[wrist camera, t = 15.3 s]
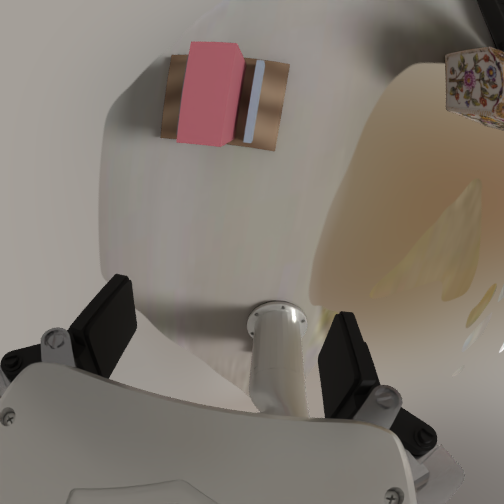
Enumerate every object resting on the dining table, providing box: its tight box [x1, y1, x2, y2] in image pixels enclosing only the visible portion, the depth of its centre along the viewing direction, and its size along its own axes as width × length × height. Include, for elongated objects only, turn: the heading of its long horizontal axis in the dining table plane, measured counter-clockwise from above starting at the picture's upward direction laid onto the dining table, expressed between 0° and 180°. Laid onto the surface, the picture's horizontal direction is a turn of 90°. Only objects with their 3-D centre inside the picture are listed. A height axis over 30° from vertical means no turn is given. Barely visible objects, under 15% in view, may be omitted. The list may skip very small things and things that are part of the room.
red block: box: [177, 42, 247, 147], centre depth 30 cm, size 12×5×12 cm, turn 171°
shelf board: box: [161, 55, 290, 151], centre depth 36 cm, size 14×18×2 cm
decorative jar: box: [445, 46, 504, 130], centre depth 22 cm, size 12×12×18 cm
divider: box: [243, 60, 265, 143], centre depth 34 cm, size 12×1×4 cm, turn 172°
